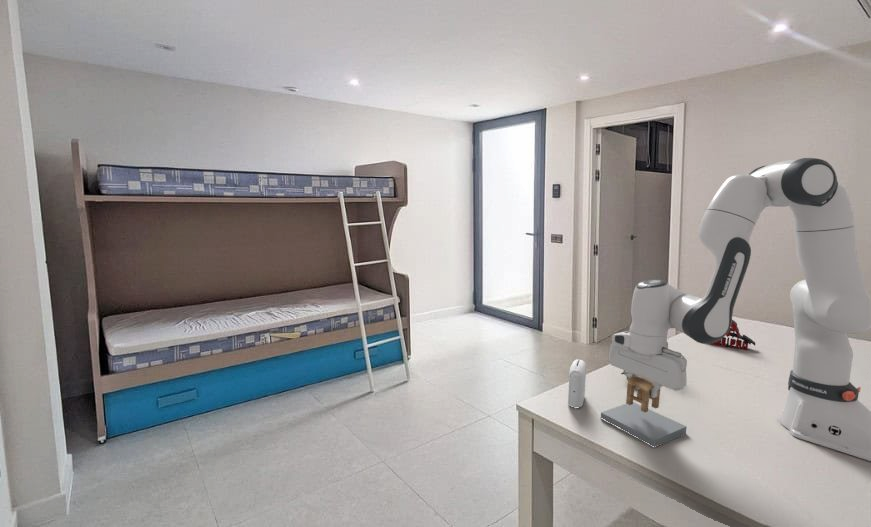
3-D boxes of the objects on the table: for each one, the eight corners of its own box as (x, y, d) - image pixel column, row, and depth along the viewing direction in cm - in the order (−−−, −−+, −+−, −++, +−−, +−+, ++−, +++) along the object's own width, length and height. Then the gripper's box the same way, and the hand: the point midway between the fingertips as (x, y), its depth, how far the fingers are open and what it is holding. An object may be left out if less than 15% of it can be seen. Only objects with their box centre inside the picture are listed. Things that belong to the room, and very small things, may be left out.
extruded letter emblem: (701, 342, 182) (703, 316, 180) (702, 340, 185) (704, 315, 183) (754, 351, 171) (757, 324, 169) (754, 349, 174) (757, 322, 172)
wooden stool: (658, 407, 114) (660, 382, 113) (644, 412, 111) (647, 386, 110) (639, 398, 119) (641, 374, 118) (626, 403, 116) (628, 378, 115)
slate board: (685, 433, 112) (686, 426, 112) (654, 447, 106) (654, 440, 105) (631, 407, 126) (631, 401, 126) (600, 419, 120) (601, 412, 119)
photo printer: (582, 410, 125) (584, 369, 123) (566, 407, 127) (568, 367, 125) (585, 395, 134) (587, 357, 132) (571, 393, 136) (572, 355, 134)
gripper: (694, 352, 105) (689, 406, 107) (622, 330, 123) (619, 376, 125) (679, 357, 102) (674, 412, 104) (606, 333, 120) (603, 381, 122)
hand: (643, 392), depth 115 cm, fingers closed on wooden stool, 4 cm apart
